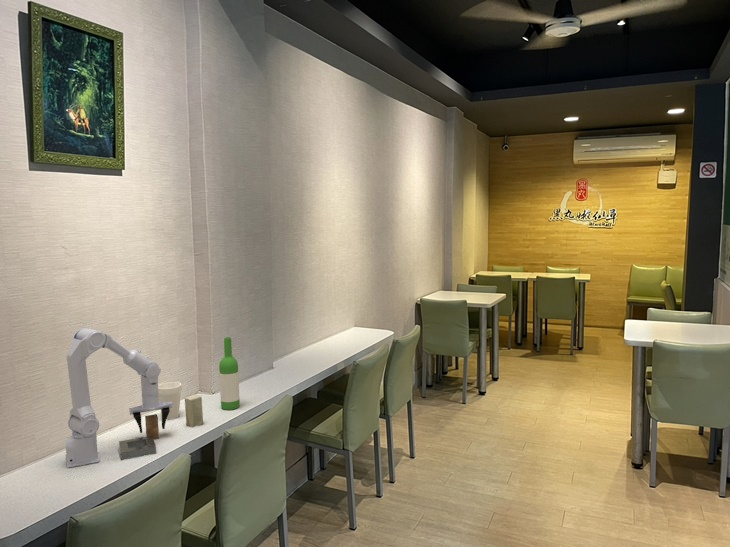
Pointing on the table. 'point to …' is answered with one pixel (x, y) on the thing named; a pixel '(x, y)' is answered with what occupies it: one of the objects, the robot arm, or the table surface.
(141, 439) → the collar
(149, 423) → the peg
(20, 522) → the table surface
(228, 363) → the wine bottle
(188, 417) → the box
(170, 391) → the foam cup
